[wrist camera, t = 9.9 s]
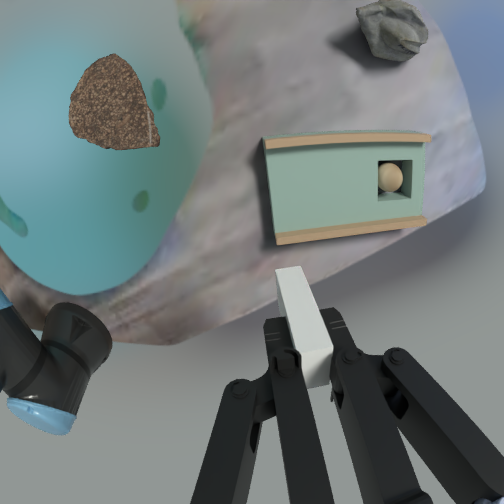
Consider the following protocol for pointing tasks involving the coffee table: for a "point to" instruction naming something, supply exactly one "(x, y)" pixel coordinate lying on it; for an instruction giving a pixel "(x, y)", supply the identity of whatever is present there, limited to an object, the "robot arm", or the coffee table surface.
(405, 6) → the fossil
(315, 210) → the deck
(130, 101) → the rock
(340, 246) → the coffee table surface
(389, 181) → the ball
